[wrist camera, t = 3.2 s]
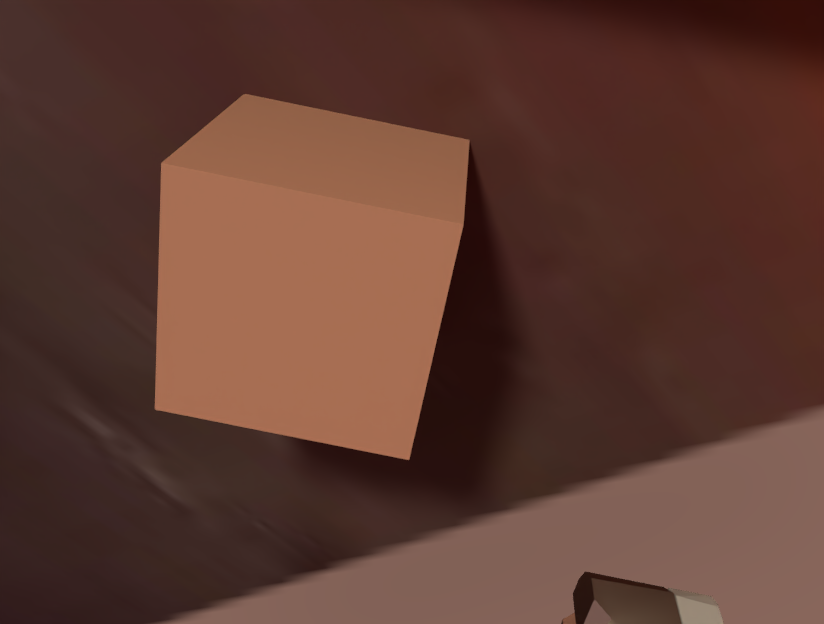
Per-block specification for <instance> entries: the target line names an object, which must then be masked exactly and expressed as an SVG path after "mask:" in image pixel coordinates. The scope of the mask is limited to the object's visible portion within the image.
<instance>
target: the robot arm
mask: <svg viewBox="0 0 824 624" xmlns="http://www.w3.org/2000/svg"><path fill="white" fill-rule="evenodd" d="M573 600H574V610H575V613H573V614H572V615H570V616H568V617H566V618H564V619H563V620H562V623H561V624H724V622H723V620H722V616H721V613H720V610H719V607H718V604H717V603H716V601H715V600H714V599H713V598H712V597H711V596H707V595H702V594H697V593H692V592H687V591H682V590H677V589H672V588H668V589H666V588H664V587H660V586H655V585H650V584H645V583H640V582H635V581H630V580H625V579H620V578H614V577H610V576H605V575H600V574H595V573H590V572H584V574H583V575H582V576H581V577H580V578H579V580H578V583H577V585H576V588H575V590H574V592H573Z"/></svg>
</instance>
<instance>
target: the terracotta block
mask: <svg viewBox="0 0 824 624" xmlns="http://www.w3.org/2000/svg"><path fill="white" fill-rule="evenodd" d="M469 142H470V140H467V139H462V138H457V137H452V136H447V135H443V134H438V133H433V132H428V131H423V130H418V129H413V128H408V127H404V126H399V125H394V124H389V123H384V122H379V121H374V120H370V119H365V118H360V117H355V116H350V115H345V114H340V113H335V112H331V111H326V110H321V109H316V108H311V107H306V106H301V105H297V104H292V103H287V102H282V101H277V100H272V99H267V98H262V97H258V96H253V95H248V94H244V95H242V96H241V97H240V98H239V99H238V100H236V101H235V102H234V103H233V104H232V105H230V106H229V107H228V108H227V109H226V110H224V111H223V112H222V113H221V114H220V115H218V116H217V117H216V118H215V119H214V120H212V121H211V122H210V123H209V124H208V125H206V126H205V127H204V128H203V129H202V130H200V131H199V132H198V133H197V134H196V135H194V136H193V137H192V138H191V139H190V140H188V141H187V142H186V143H185V144H184V145H182V146H181V147H180V148H179V149H178V150H176V151H175V152H174V153H173V154H172V155H170V156H169V157H168V158H167V159H166V160H164V161H163V162H162V163H161V196H160V235H159V273H158V312H157V350H156V389H155V410H160V411H165V412H170V413H175V414H180V415H185V416H190V417H195V418H201V419H206V420H211V421H216V422H221V423H226V424H231V425H236V426H241V427H246V428H251V429H256V430H261V431H266V432H271V433H276V434H281V435H286V436H291V437H296V438H301V439H306V440H311V441H316V442H321V443H326V444H331V445H336V446H341V447H346V448H351V449H356V450H361V451H366V452H371V453H376V454H381V455H386V456H391V457H396V458H401V459H406V460H409V458H410V454H411V450H412V445H413V441H414V437H415V433H416V428H417V424H418V420H419V415H420V411H421V407H422V402H423V398H424V394H425V389H426V385H427V381H428V376H429V372H430V368H431V363H432V359H433V355H434V350H435V346H436V342H437V337H438V333H439V329H440V324H441V320H442V316H443V312H444V307H445V303H446V299H447V294H448V290H449V286H450V281H451V277H452V273H453V268H454V264H455V260H456V255H457V251H458V247H459V242H460V238H461V234H462V229H463V225H464V212H465V198H466V184H467V170H468V156H469Z"/></svg>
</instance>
